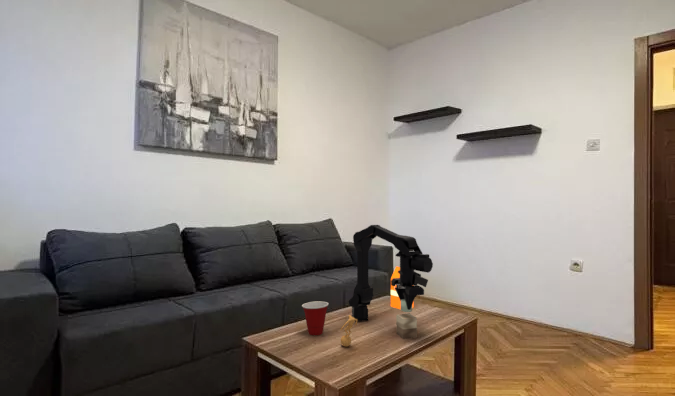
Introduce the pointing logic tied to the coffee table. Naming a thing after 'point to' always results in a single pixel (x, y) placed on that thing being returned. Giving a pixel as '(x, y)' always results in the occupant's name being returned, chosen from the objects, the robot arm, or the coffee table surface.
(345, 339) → the figurine
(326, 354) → the coffee table surface
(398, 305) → the orange juice
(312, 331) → the plastic cup
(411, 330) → the walnut block
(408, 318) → the birch block
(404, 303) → the stubby sage cylinder
